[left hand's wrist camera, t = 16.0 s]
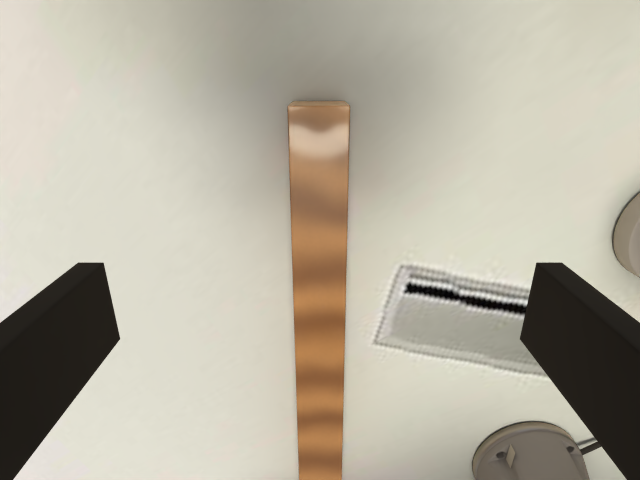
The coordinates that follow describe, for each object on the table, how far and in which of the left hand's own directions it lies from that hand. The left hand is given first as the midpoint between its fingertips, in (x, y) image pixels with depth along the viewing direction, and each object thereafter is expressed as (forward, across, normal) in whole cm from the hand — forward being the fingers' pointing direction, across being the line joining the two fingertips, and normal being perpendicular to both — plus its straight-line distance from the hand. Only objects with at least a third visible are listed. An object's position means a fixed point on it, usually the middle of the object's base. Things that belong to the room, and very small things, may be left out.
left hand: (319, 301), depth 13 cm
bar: (+33, 0, -25) cm, 42 cm away
